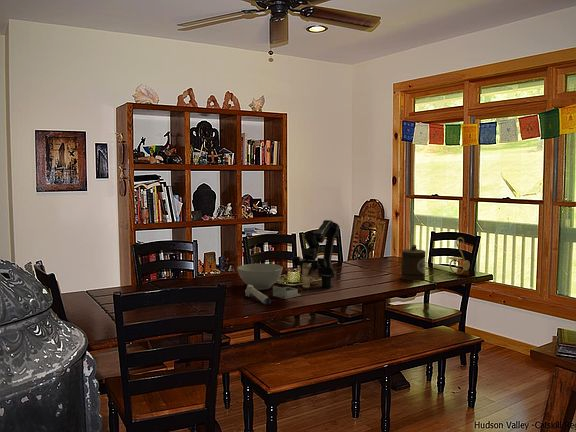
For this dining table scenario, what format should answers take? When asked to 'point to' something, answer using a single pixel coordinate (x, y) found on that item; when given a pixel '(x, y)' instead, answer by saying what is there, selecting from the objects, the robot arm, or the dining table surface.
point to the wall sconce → (465, 263)
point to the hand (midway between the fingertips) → (305, 274)
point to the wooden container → (413, 264)
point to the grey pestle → (257, 294)
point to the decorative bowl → (260, 275)
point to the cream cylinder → (305, 275)
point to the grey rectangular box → (285, 292)
